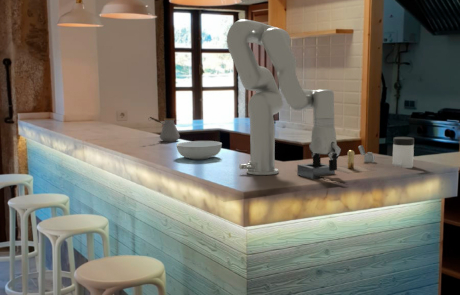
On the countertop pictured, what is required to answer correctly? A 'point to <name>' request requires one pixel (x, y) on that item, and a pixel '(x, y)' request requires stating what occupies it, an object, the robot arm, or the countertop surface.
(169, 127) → the coffee pot
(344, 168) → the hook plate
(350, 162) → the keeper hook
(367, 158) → the lighter
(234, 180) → the countertop surface
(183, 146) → the serving bowl
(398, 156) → the jar
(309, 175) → the grey square frame
